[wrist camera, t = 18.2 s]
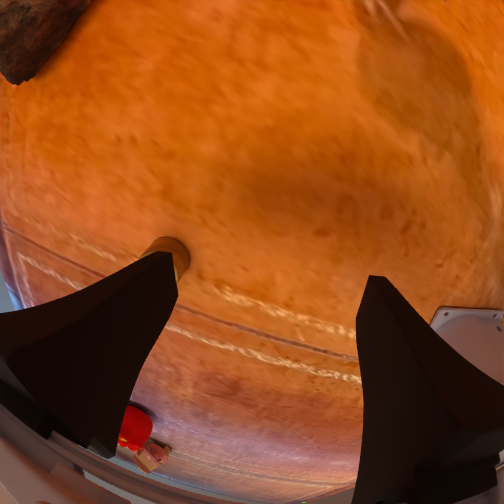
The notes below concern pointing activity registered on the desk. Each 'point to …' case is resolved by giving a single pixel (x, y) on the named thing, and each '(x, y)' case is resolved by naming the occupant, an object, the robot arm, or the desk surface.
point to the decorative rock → (33, 33)
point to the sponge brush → (177, 252)
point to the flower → (135, 429)
